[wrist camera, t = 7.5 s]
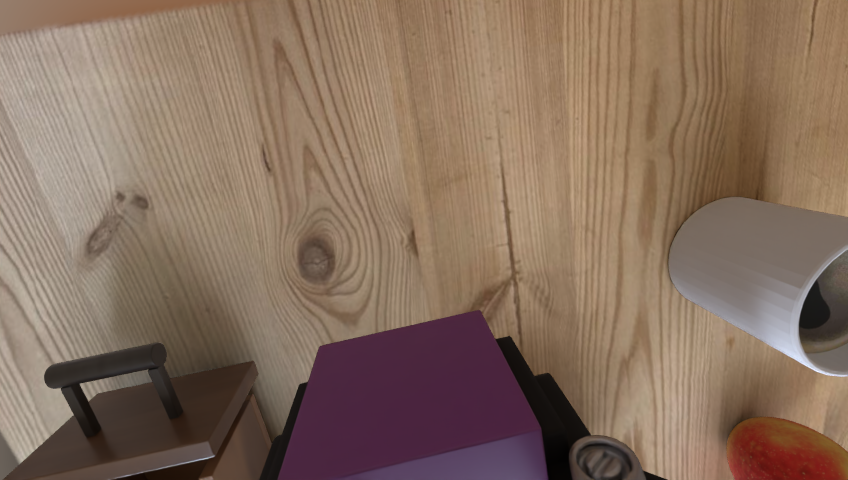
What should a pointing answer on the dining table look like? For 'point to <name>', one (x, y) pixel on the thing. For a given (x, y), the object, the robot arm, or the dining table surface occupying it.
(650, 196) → the dining table surface
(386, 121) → the dining table surface
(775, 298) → the mug
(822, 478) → the apple
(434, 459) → the cube
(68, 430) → the drawer
